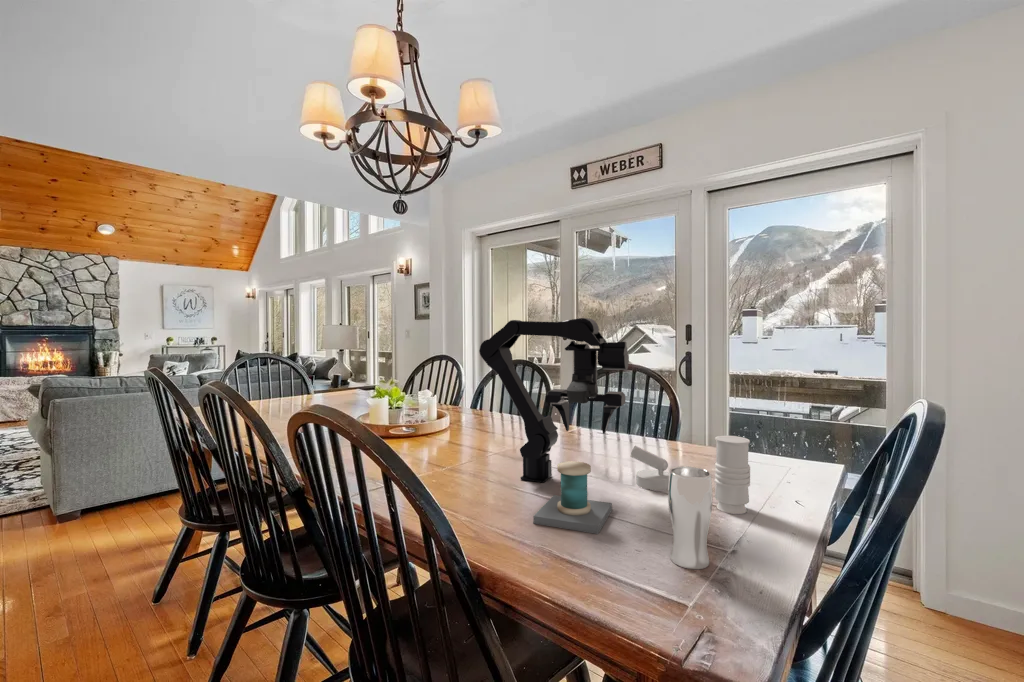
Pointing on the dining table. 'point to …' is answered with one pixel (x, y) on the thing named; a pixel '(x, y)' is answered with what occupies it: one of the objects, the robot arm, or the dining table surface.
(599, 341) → the robot arm
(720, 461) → the white ribbed cylinder
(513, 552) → the dining table surface
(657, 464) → the white spotlight lamp
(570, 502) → the cord spool
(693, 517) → the metal tumbler
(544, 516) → the slate board
